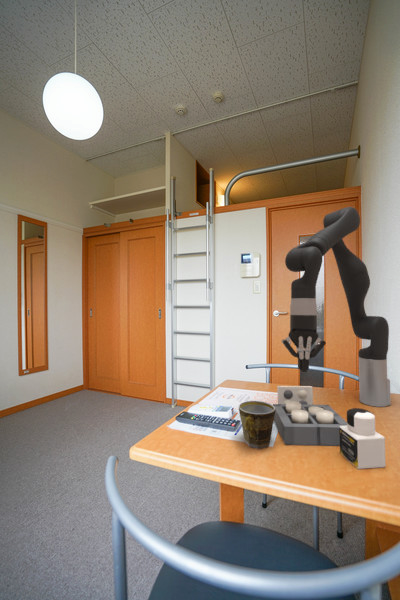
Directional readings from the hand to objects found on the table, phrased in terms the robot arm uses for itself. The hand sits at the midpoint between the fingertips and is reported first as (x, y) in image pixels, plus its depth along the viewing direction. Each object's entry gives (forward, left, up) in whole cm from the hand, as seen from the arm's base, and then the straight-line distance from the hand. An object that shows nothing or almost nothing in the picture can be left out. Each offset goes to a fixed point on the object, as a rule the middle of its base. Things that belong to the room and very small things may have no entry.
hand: (303, 371), depth 83 cm
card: (-1, -16, -18) cm, 24 cm away
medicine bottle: (-9, +14, -19) cm, 25 cm away
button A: (-5, -4, -16) cm, 17 cm away
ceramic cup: (+16, +8, -19) cm, 25 cm away
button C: (+2, -4, -14) cm, 15 cm away
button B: (-5, +3, -14) cm, 15 cm away
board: (-1, -1, -18) cm, 18 cm away
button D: (+2, +3, -14) cm, 15 cm away
